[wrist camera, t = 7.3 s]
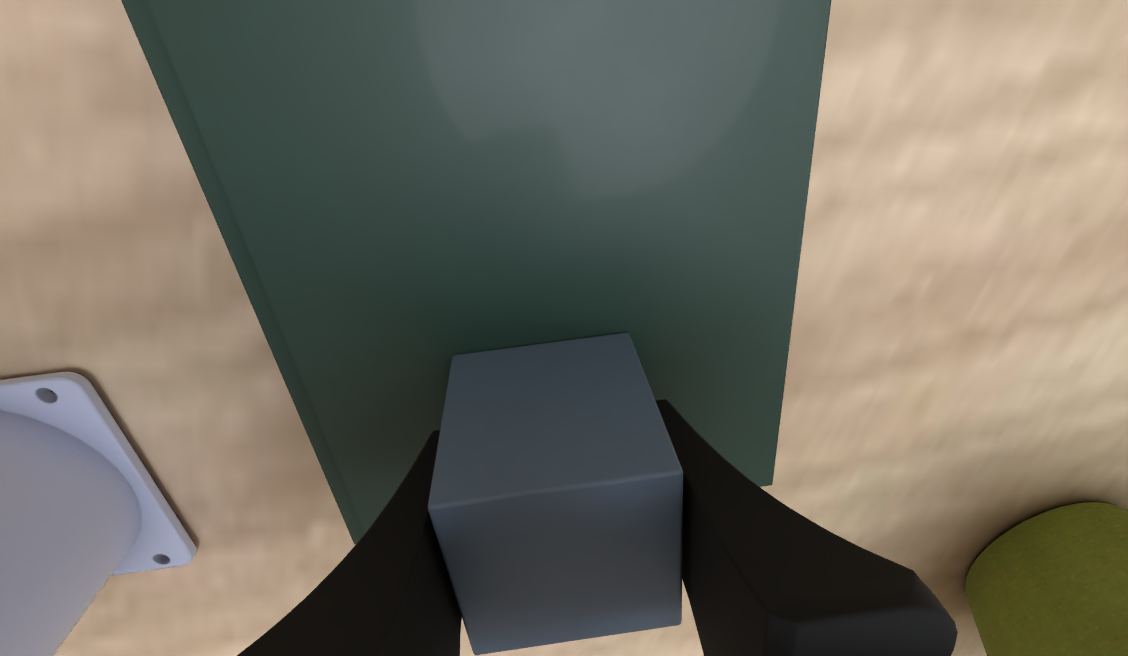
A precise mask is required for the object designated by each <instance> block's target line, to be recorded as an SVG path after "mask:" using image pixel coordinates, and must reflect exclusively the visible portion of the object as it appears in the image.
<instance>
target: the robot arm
mask: <svg viewBox="0 0 1128 656" xmlns="http://www.w3.org/2000/svg"><path fill="white" fill-rule="evenodd" d="M48 389H50V390H52V391H53V392H54V393H55V394H54V393H52V392H50V391H49V390H48ZM655 401H656V404H657V406H658V409H659V411H660V414H661V416H662V419H663V422H664V424H665V427H666V429H667V432H668V434H669V437H670V440H671V442H672V445H673V447H674V450H675V452H676V455H677V457H678V460H679V463H680V465H681V468H682V470H683V530H682V579H683V582H684V585H685V588H686V591H687V594H688V598H689V601H690V605H691V608H692V612H693V616H694V619H695V623H696V627H697V630H698V634H699V638H700V642H701V645H702V649H703V653H704V656H951V654H952V652H953V650H954V646H955V642H956V637H957V633H958V632H957V629H956V625H955V622H954V621H953V619H952V618H951V617H950V615H949V614H948V612H947V611H946V610H945V608H944V607H943V606H942V604H941V603H940V602H939V600H938V599H937V598H936V597H935V595H934V594H933V593H932V592H931V590H930V589H929V588H928V587H927V586H926V585H925V584H924V583H923V581H922V580H921V579H920V578H919V577H918V576H917V575H916V573H915V572H914V571H913V570H911V569H908V568H906V567H904V566H901V565H899V564H897V563H895V562H892V561H890V560H888V559H885V558H883V557H881V556H879V555H876V554H874V553H872V552H869V551H867V550H865V549H863V548H861V547H859V546H857V545H855V544H853V543H851V542H849V541H847V540H845V539H843V538H841V537H839V536H837V535H835V534H833V533H831V532H830V531H828V530H826V529H824V528H822V527H821V526H819V525H817V524H815V523H814V522H812V521H810V520H809V519H807V518H805V517H804V516H802V515H800V514H799V513H797V512H795V511H794V510H792V509H790V508H789V507H787V506H786V505H784V504H783V503H781V502H780V501H778V500H777V499H775V498H774V497H773V496H771V495H770V494H768V493H767V492H766V491H764V490H763V489H761V488H760V487H759V486H758V485H756V484H755V483H754V482H752V481H751V480H750V479H749V478H747V477H746V476H745V475H744V474H742V473H741V472H740V471H739V470H738V469H736V468H735V467H734V466H733V465H732V464H731V463H729V462H728V461H727V460H726V459H725V458H724V457H723V456H722V455H720V454H719V453H718V452H717V451H716V450H715V449H714V448H713V447H712V446H711V445H710V444H709V443H708V442H707V441H706V440H705V439H704V438H703V437H702V436H701V435H700V434H699V433H698V432H697V431H696V430H695V429H694V428H693V427H692V426H691V425H690V424H689V423H688V422H687V421H686V420H685V419H684V418H683V417H682V415H681V414H680V413H679V412H678V411H677V410H676V409H675V408H674V406H673V405H672V404H671V403H670V402H669V401H668V400H666V399H662V400H655ZM439 435H440V430H434V431H433V432H432V433H431V434H430V436H429V438H428V439H427V441H426V443H425V445H424V446H423V448H422V450H421V452H420V453H419V455H418V457H417V458H416V460H415V462H414V463H413V465H412V467H411V468H410V470H409V472H408V473H407V475H406V476H405V478H404V479H403V481H402V482H401V484H400V486H399V487H398V489H397V490H396V492H395V493H394V495H393V496H392V498H391V499H390V501H389V502H388V503H387V505H386V506H385V507H384V509H383V510H382V512H381V513H380V514H379V516H378V517H377V518H376V520H375V521H374V523H373V524H372V525H371V527H370V528H369V529H368V530H367V532H366V533H365V534H364V535H363V537H362V538H361V539H360V540H359V542H358V543H357V544H356V545H355V546H354V547H353V549H352V550H351V551H350V552H349V553H348V554H347V556H346V557H345V558H344V559H343V560H342V561H341V562H340V563H339V564H338V565H337V567H336V568H335V569H334V570H333V571H332V572H331V573H330V574H329V575H328V576H327V577H326V578H325V579H324V580H323V581H322V582H321V583H320V584H319V585H318V586H317V587H316V588H315V589H314V590H313V591H312V592H311V593H310V594H309V595H308V596H307V597H306V598H305V599H304V600H303V601H302V602H301V603H299V604H298V605H297V606H296V607H295V608H294V609H293V610H292V611H291V612H290V613H288V614H287V615H286V616H285V617H284V618H283V619H281V620H280V621H279V622H278V623H277V624H276V625H275V626H273V627H272V628H271V629H270V630H269V631H267V632H266V633H265V634H264V635H263V636H261V637H260V638H259V639H258V640H256V641H255V642H254V643H253V644H251V645H250V646H249V647H247V648H246V649H245V650H244V651H242V652H241V653H240V654H238V655H237V656H460V630H461V619H462V615H461V612H460V609H459V606H458V603H457V599H456V596H455V593H454V590H453V587H452V584H451V580H450V577H449V574H448V571H447V568H446V565H445V561H444V558H443V555H442V552H441V549H440V546H439V542H438V539H437V536H436V533H435V530H434V526H433V523H432V520H431V517H430V514H429V511H428V502H429V496H430V490H431V484H432V478H433V472H434V466H435V460H436V453H437V447H438V441H439ZM196 552H197V549H196V546H195V545H194V543H193V541H192V540H191V538H190V537H189V535H188V534H187V532H186V531H185V529H184V527H183V526H182V524H181V523H180V521H179V520H178V518H177V517H176V515H175V513H174V512H173V510H172V509H171V507H170V506H169V504H168V503H167V501H166V499H165V498H164V496H163V495H162V493H161V492H160V490H159V489H158V487H157V485H156V484H155V482H154V481H153V479H152V478H151V476H150V475H149V473H148V471H147V470H146V468H145V467H144V465H143V464H142V462H141V461H140V459H139V458H138V456H137V454H136V453H135V451H134V450H133V448H132V447H131V445H130V444H129V442H128V440H127V439H126V437H125V436H124V434H123V433H122V431H121V430H120V428H119V426H118V425H117V423H116V422H115V420H114V419H113V417H112V416H111V414H110V412H109V411H108V409H107V408H106V406H105V405H104V403H103V402H102V400H101V398H100V397H99V395H98V394H97V392H96V391H95V389H94V388H93V386H92V384H91V383H90V382H89V381H88V380H87V379H86V378H85V377H83V376H82V375H80V374H77V373H73V372H57V373H50V374H42V375H34V376H27V377H19V378H11V379H4V380H0V656H54V654H55V653H56V651H57V650H58V649H59V647H60V646H61V644H62V643H63V642H64V640H65V639H66V637H67V636H68V635H69V633H70V632H71V630H72V629H73V628H74V626H75V625H76V623H77V622H78V621H79V619H80V618H81V616H82V615H83V614H84V612H85V611H86V610H87V608H88V607H89V605H90V604H91V603H92V601H93V600H94V598H95V597H96V596H97V594H98V593H99V591H100V590H101V589H102V587H103V586H104V584H105V583H106V582H107V580H108V579H109V577H110V576H113V575H120V574H127V573H134V572H141V571H148V570H155V569H162V568H169V567H176V566H183V565H186V564H189V563H190V562H191V561H192V560H193V558H194V556H195V555H196Z"/></svg>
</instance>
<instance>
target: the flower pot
mask: <svg viewBox="0 0 1128 656" xmlns="http://www.w3.org/2000/svg"><path fill="white" fill-rule="evenodd" d="M965 592H966V596H967V599H968V602H969V605H970V608H971V611H972V614H973V617H974V620H975V623H976V626H977V628H978V631H979V634H980V637H981V640H982V642H983V645H984V648H985V650H986V653H987V656H1128V510H1127V509H1124V508H1122V507H1119V506H1116V505H1113V504H1107V503H1099V502H1087V503H1077V504H1071V505H1067V506H1062V507H1059V508H1056V509H1052V510H1049V511H1046V512H1044V513H1042V514H1039V515H1037V516H1034V517H1032V518H1030V519H1028V520H1026V521H1024V522H1022V523H1020V524H1018V525H1016V526H1015V527H1013V528H1012V529H1010V530H1009V531H1007V532H1006V533H1004V534H1003V535H1001V536H1000V537H998V538H997V539H996V540H995V541H994V542H992V543H991V544H990V545H989V546H988V547H987V548H986V549H985V550H984V551H983V552H982V553H981V554H980V555H979V556H978V557H977V559H976V560H975V562H974V563H973V565H972V566H971V568H970V570H969V572H968V574H967V577H966V582H965Z"/></svg>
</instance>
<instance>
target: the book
mask: <svg viewBox="0 0 1128 656" xmlns="http://www.w3.org/2000/svg"><path fill="white" fill-rule="evenodd" d="M121 1H122V3H123V5H124V8H125V10H126V12H127V15H128V17H129V19H130V22H131V24H132V26H133V29H134V31H135V33H136V36H137V38H138V40H139V43H140V45H141V47H142V50H143V52H144V54H145V57H146V59H147V61H148V64H149V66H150V68H151V71H152V73H153V75H154V78H155V80H156V82H157V85H158V87H159V89H160V92H161V94H162V96H163V99H164V101H165V103H166V106H167V108H168V110H169V113H170V115H171V117H172V120H173V122H174V124H175V127H176V129H177V131H178V134H179V136H180V138H181V141H182V143H183V145H184V148H185V150H186V152H187V155H188V157H189V159H190V162H191V164H192V166H193V169H194V171H195V173H196V176H197V178H198V180H199V183H200V185H201V187H202V190H203V192H204V194H205V197H206V199H207V201H208V204H209V206H210V208H211V211H212V213H213V215H214V218H215V220H216V222H217V225H218V227H219V229H220V232H221V234H222V236H223V239H224V241H225V243H226V246H227V248H228V250H229V253H230V255H231V257H232V260H233V262H234V264H235V267H236V269H237V271H238V274H239V276H240V278H241V281H242V283H243V285H244V288H245V290H246V292H247V295H248V297H249V299H250V302H251V304H252V306H253V309H254V311H255V313H256V316H257V318H258V320H259V323H260V325H261V327H262V330H263V332H264V334H265V337H266V339H267V341H268V344H269V346H270V348H271V351H272V353H273V355H274V358H275V360H276V362H277V365H278V367H279V369H280V372H281V374H282V376H283V379H284V381H285V383H286V386H287V388H288V390H289V393H290V395H291V397H292V400H293V402H294V404H295V407H296V409H297V411H298V414H299V416H300V418H301V421H302V423H303V425H304V428H305V430H306V432H307V435H308V437H309V439H310V442H311V444H312V446H313V449H314V451H315V453H316V456H317V458H318V460H319V463H320V465H321V467H322V470H323V472H324V474H325V477H326V479H327V481H328V484H329V486H330V488H331V491H332V493H333V495H334V498H335V500H336V502H337V505H338V507H339V509H340V512H341V514H342V516H343V519H344V521H345V523H346V526H347V528H348V530H349V533H350V535H351V537H352V540H353V542H354V544H357V543H358V542H359V540H360V539H361V538H362V537H363V535H364V534H365V533H366V532H367V530H368V529H369V528H370V527H371V525H372V524H373V523H374V521H375V520H376V518H377V517H378V516H379V514H380V513H381V512H382V510H383V509H384V507H385V506H386V505H387V503H388V502H389V501H390V499H391V498H392V496H393V495H394V493H395V492H396V490H397V489H398V487H399V486H400V484H401V482H402V481H403V479H404V478H405V476H406V475H407V473H408V472H409V470H410V468H411V467H412V465H413V463H414V462H415V460H416V458H417V457H418V455H419V453H420V452H421V450H422V448H423V446H424V445H425V443H426V441H427V439H428V438H429V436H430V434H431V433H432V432H433V431H434V430H440V429H441V423H442V417H443V411H444V405H445V399H446V392H447V386H448V380H449V374H450V368H451V362H452V357H453V356H454V355H460V354H467V353H475V352H482V351H490V350H498V349H505V348H513V347H520V346H528V345H535V344H543V343H550V342H558V341H566V340H573V339H581V338H588V337H596V336H603V335H611V334H619V333H629V335H630V337H631V340H632V342H633V345H634V347H635V350H636V353H637V355H638V358H639V360H640V363H641V365H642V368H643V370H644V373H645V376H646V378H647V381H648V383H649V386H650V388H651V391H652V393H653V396H654V399H655V400H662V399H666V400H668V401H669V402H670V403H671V404H672V405H673V406H674V408H675V409H676V410H677V411H678V412H679V413H680V414H681V415H682V417H683V418H684V419H685V420H686V421H687V422H688V423H689V424H690V425H691V426H692V427H693V428H694V429H695V430H696V431H697V432H698V433H699V434H700V435H701V436H702V437H703V438H704V439H705V440H706V441H707V442H708V443H709V444H710V445H711V446H712V447H713V448H714V449H715V450H716V451H717V452H718V453H719V454H720V455H722V456H723V457H724V458H725V459H726V460H727V461H728V462H729V463H731V464H732V465H733V466H734V467H735V468H736V469H738V470H739V471H740V472H741V473H742V474H744V475H745V476H746V477H747V478H749V479H750V480H751V481H752V482H754V483H755V484H756V485H758V486H759V487H761V486H768V485H772V482H773V474H774V466H775V458H776V449H777V441H778V433H779V425H780V417H781V408H782V400H783V392H784V384H785V376H786V367H787V359H788V351H789V343H790V335H791V326H792V318H793V310H794V302H795V294H796V285H797V277H798V269H799V261H800V253H801V244H802V236H803V228H804V220H805V211H806V203H807V195H808V187H809V179H810V170H811V162H812V154H813V146H814V138H815V129H816V121H817V113H818V105H819V97H820V88H821V80H822V72H823V64H824V56H825V47H826V39H827V31H828V23H829V15H830V6H831V0H121Z"/></svg>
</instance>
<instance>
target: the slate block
mask: <svg viewBox="0 0 1128 656" xmlns="http://www.w3.org/2000/svg"><path fill="white" fill-rule="evenodd" d="M428 511H429V514H430V517H431V520H432V523H433V526H434V530H435V533H436V536H437V539H438V542H439V546H440V549H441V552H442V555H443V558H444V561H445V565H446V568H447V571H448V574H449V577H450V580H451V584H452V587H453V590H454V593H455V596H456V599H457V603H458V606H459V609H460V612H461V615H462V618H463V622H464V625H465V628H466V631H467V634H468V638H469V641H470V644H471V647H472V650H473V653H474V654H475V655H480V654H487V653H494V652H501V651H507V650H514V649H521V648H527V647H534V646H541V645H548V644H554V643H561V642H568V641H574V640H581V639H588V638H595V637H601V636H608V635H615V634H621V633H628V632H635V631H642V630H648V629H655V628H662V627H669V626H675V625H679V624H681V620H682V530H683V470H682V468H681V465H680V463H679V460H678V457H677V455H676V452H675V450H674V447H673V445H672V442H671V440H670V437H669V434H668V432H667V429H666V427H665V424H664V422H663V419H662V416H661V414H660V411H659V409H658V406H657V404H656V401H655V399H654V396H653V393H652V391H651V388H650V386H649V383H648V381H647V378H646V376H645V373H644V370H643V368H642V365H641V363H640V360H639V358H638V355H637V353H636V350H635V347H634V345H633V342H632V340H631V337H630V335H629V333H619V334H611V335H603V336H596V337H588V338H581V339H573V340H566V341H558V342H550V343H543V344H535V345H528V346H520V347H513V348H505V349H498V350H490V351H482V352H475V353H467V354H460V355H454V356H453V357H452V362H451V368H450V374H449V380H448V386H447V392H446V399H445V405H444V411H443V417H442V423H441V429H440V435H439V441H438V447H437V453H436V460H435V466H434V472H433V478H432V484H431V490H430V496H429V502H428Z"/></svg>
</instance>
